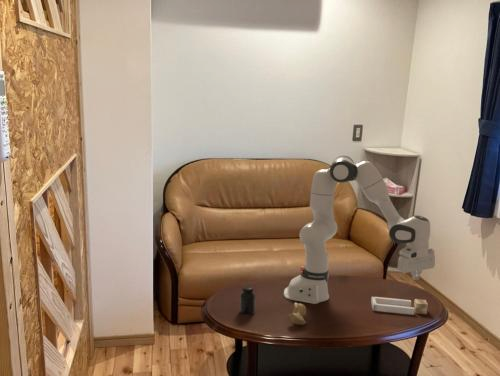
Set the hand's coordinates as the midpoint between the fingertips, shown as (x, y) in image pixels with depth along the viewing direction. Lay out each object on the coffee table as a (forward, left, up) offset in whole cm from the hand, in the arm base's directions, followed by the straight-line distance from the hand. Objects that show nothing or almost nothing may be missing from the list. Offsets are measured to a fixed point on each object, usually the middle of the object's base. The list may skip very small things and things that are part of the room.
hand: (415, 279), depth 214 cm
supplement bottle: (-76, -20, -16) cm, 80 cm away
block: (+4, 0, -16) cm, 16 cm away
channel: (-9, 0, -16) cm, 18 cm away
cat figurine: (-52, -23, -16) cm, 59 cm away
